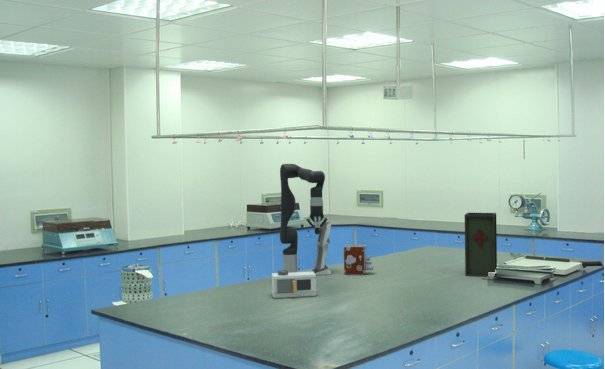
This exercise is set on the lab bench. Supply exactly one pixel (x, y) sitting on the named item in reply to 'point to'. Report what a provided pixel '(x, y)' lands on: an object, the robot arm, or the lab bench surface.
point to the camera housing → (303, 283)
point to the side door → (286, 286)
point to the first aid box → (480, 244)
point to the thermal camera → (322, 250)
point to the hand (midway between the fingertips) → (317, 234)
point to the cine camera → (356, 260)
